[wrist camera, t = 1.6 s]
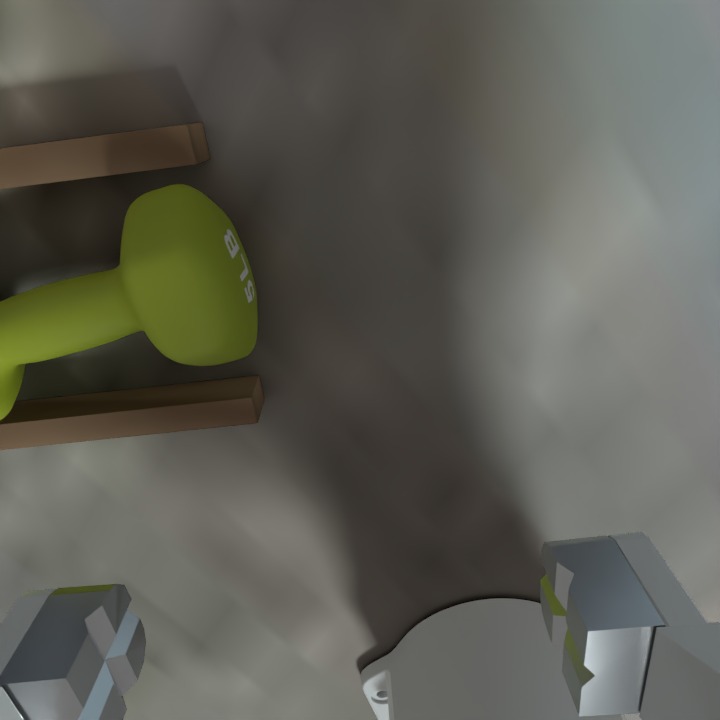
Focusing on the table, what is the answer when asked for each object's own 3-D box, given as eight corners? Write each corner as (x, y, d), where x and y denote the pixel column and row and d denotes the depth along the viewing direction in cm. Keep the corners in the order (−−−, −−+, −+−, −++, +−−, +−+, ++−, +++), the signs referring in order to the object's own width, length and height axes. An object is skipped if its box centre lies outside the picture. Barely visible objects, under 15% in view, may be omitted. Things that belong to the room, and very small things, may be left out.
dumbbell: (225, 164, 24) (178, 188, 18) (281, 322, 28) (259, 391, 21) (-94, 257, 26) (-243, 310, 19) (-4, 395, 29) (-105, 480, 23)
